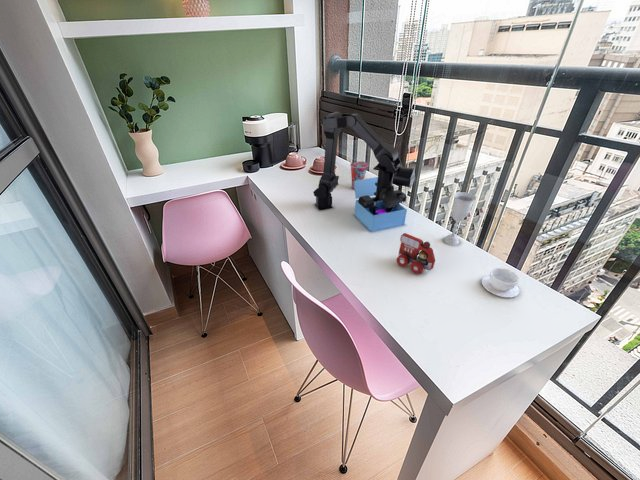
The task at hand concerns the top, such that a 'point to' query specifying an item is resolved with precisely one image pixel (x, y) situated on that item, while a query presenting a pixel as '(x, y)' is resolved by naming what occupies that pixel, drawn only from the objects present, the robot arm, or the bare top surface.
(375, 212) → the crystal
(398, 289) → the top surface
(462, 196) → the chalice
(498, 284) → the teacup
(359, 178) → the cup
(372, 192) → the flap
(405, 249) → the toy fire truck
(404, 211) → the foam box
